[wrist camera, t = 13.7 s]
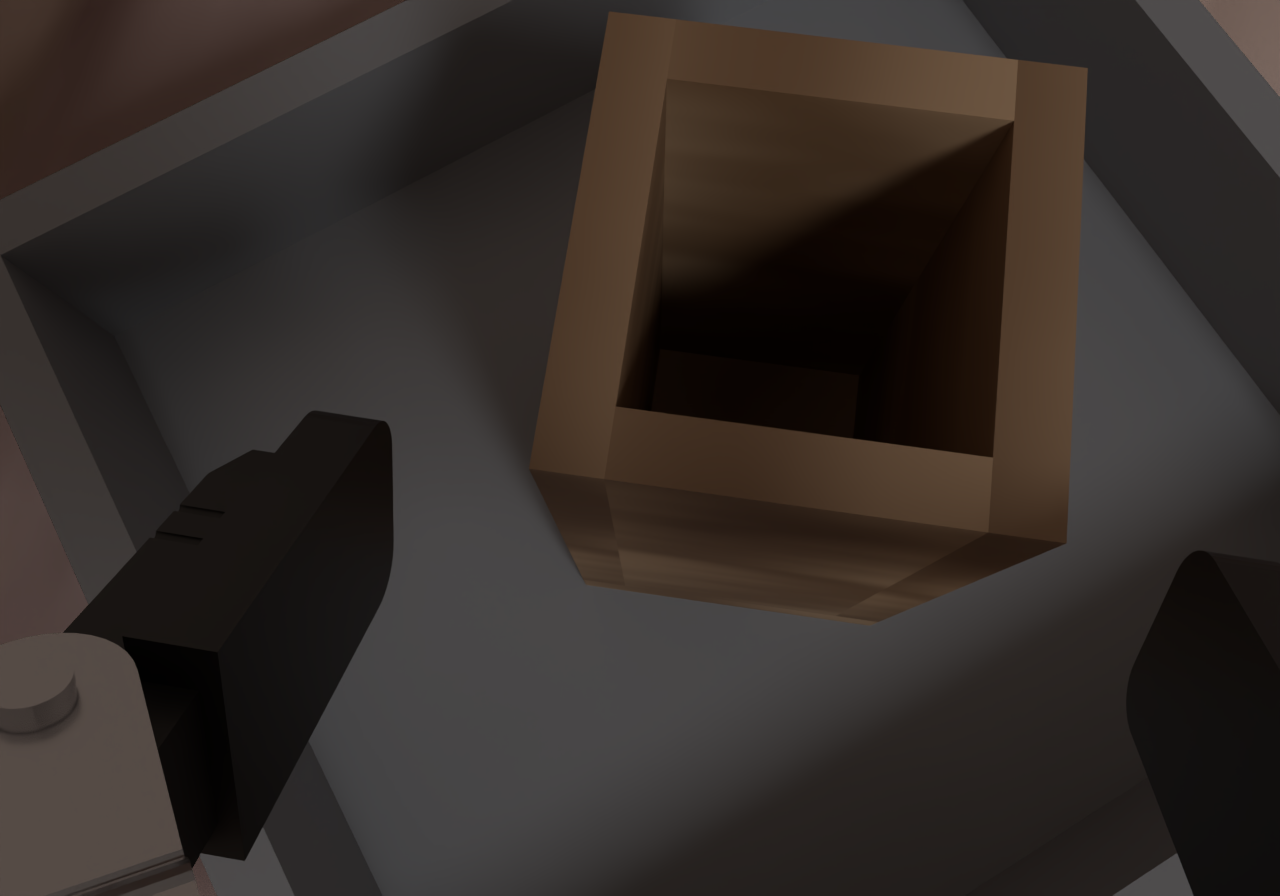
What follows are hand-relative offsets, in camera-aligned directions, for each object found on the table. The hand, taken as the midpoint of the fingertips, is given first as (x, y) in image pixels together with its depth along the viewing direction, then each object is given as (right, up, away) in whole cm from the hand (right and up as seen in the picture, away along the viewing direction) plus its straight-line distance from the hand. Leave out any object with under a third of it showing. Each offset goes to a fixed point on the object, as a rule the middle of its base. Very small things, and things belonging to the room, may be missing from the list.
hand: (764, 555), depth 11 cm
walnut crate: (+1, +1, +11) cm, 11 cm away
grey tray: (+1, +1, +11) cm, 11 cm away
